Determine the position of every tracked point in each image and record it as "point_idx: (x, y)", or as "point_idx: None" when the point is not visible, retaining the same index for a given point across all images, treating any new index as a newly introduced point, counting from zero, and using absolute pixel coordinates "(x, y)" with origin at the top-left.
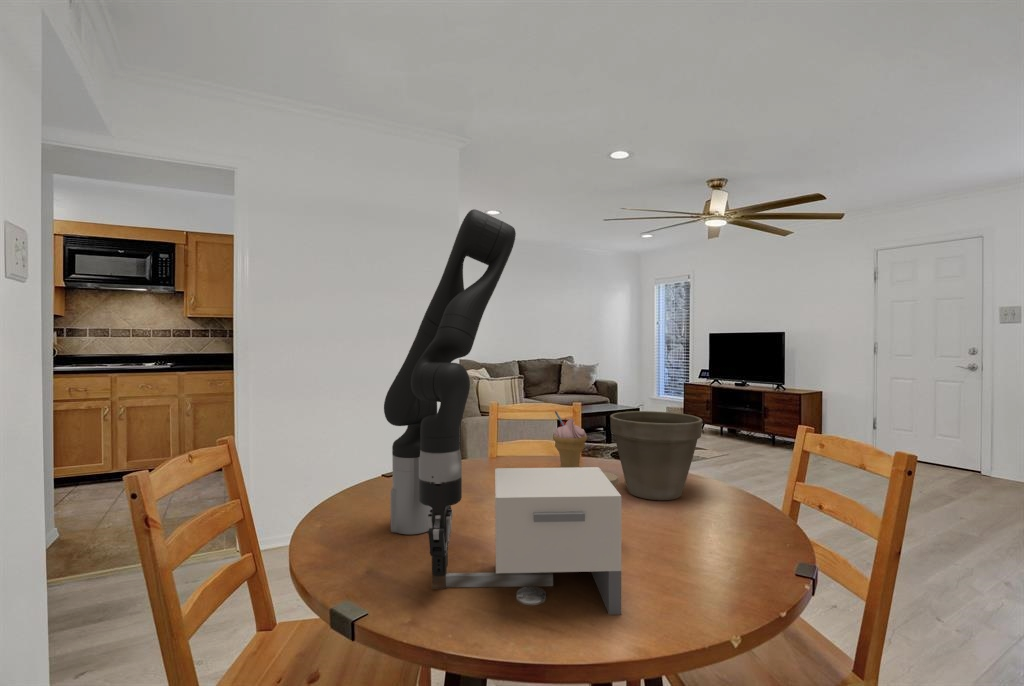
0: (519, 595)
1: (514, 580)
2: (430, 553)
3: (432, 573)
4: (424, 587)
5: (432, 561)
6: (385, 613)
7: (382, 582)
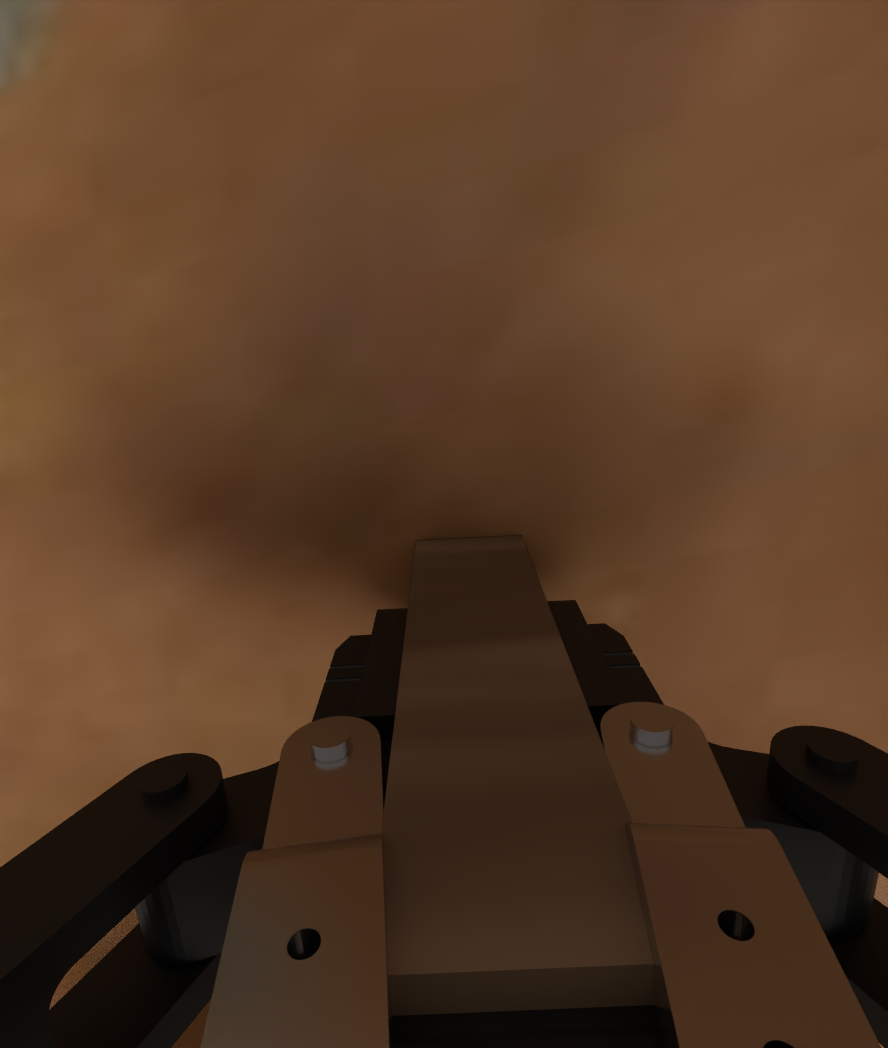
0: None
1: None
2: (101, 797)
3: (410, 595)
4: (447, 478)
5: (405, 652)
6: (12, 256)
7: (538, 54)
